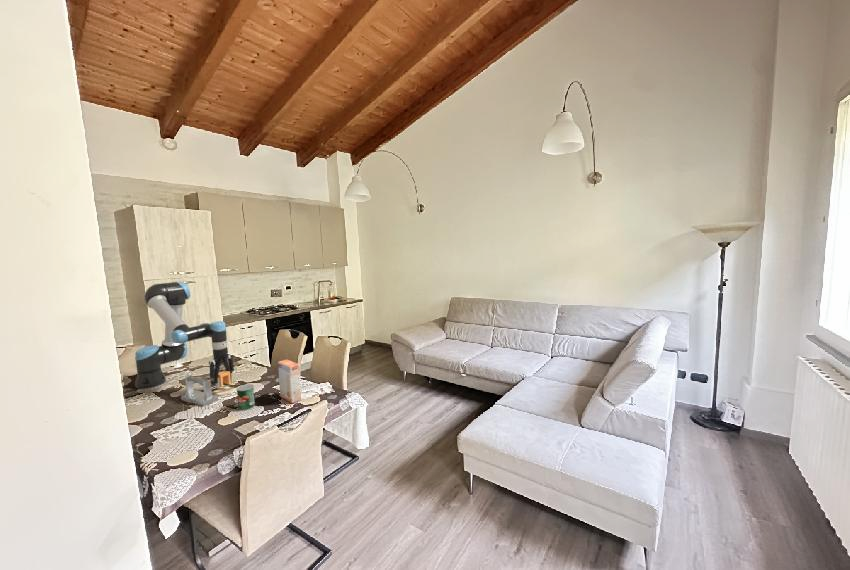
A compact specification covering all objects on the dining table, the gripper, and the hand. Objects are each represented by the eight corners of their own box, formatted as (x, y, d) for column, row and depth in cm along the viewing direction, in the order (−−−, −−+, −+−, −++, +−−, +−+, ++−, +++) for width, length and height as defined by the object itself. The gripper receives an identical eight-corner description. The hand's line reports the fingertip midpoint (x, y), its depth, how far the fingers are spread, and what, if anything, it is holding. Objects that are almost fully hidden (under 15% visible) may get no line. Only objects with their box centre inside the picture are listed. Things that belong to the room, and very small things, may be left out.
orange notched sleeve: (215, 386, 201) (214, 373, 201) (225, 382, 207) (224, 370, 206) (221, 387, 199) (220, 375, 198) (231, 383, 205) (229, 371, 204)
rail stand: (181, 399, 193) (179, 378, 192) (195, 394, 201) (193, 373, 199) (203, 406, 185) (201, 384, 183) (218, 400, 192) (216, 378, 191)
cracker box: (301, 400, 191) (299, 364, 188) (291, 404, 186) (289, 367, 184) (289, 393, 200) (287, 358, 198) (279, 396, 196) (277, 361, 193)
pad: (210, 393, 201) (210, 392, 201) (226, 386, 210) (226, 385, 210) (221, 396, 197) (221, 395, 197) (237, 389, 206) (237, 388, 206)
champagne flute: (185, 364, 251) (182, 332, 248) (179, 367, 244) (175, 334, 241) (176, 364, 251) (172, 332, 248) (169, 368, 244) (166, 335, 241)
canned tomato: (236, 411, 179) (234, 391, 178) (240, 404, 187) (238, 385, 185) (253, 409, 181) (251, 389, 180) (256, 402, 189) (254, 383, 187)
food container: (238, 381, 219) (237, 366, 218) (231, 385, 213) (230, 369, 212) (220, 380, 220) (218, 365, 219) (213, 384, 214) (211, 369, 213)
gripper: (208, 353, 190) (211, 393, 193) (239, 344, 207) (242, 381, 210) (199, 352, 193) (203, 391, 196) (230, 343, 211) (234, 379, 213)
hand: (223, 385), depth 203 cm, fingers closed on orange notched sleeve, 6 cm apart
